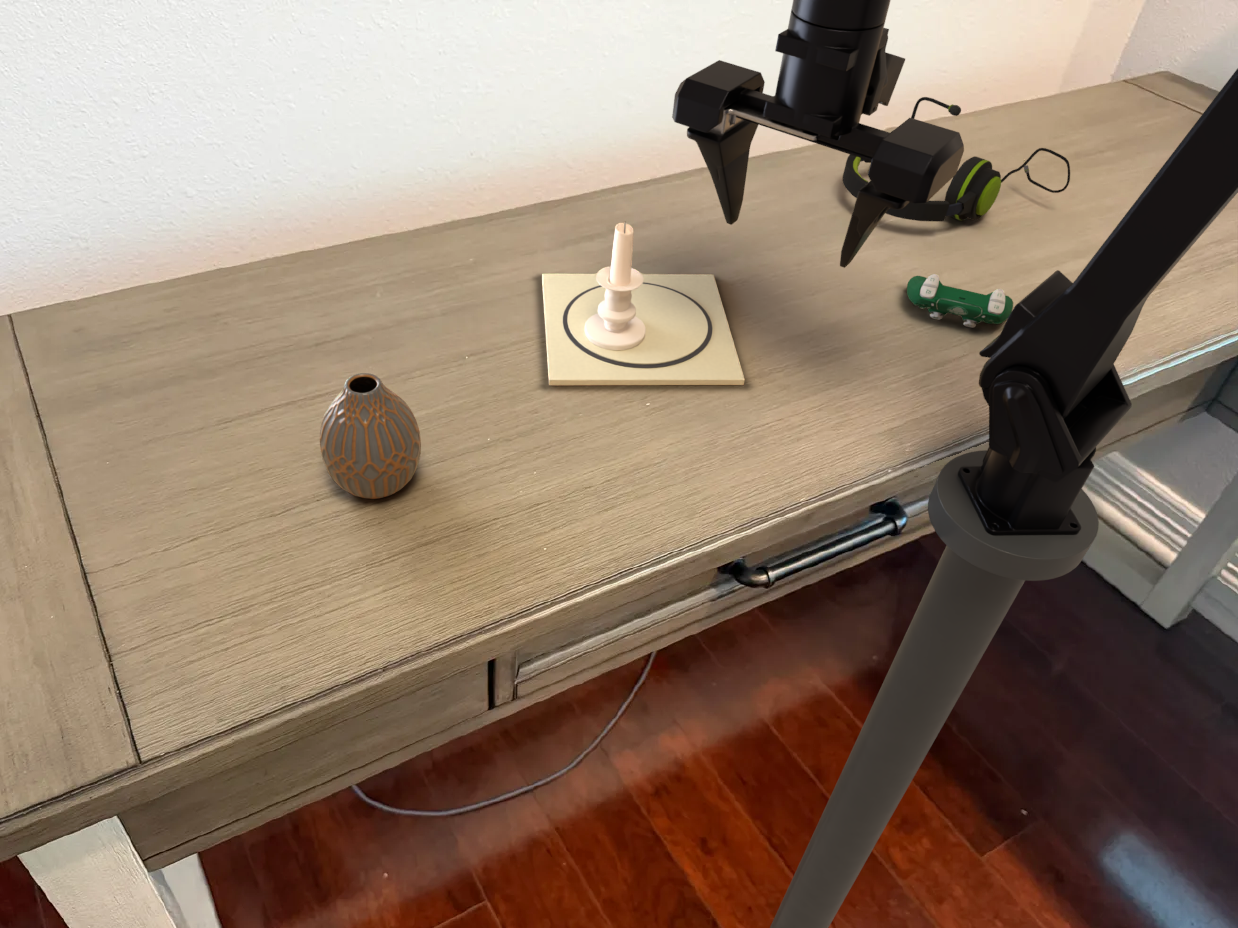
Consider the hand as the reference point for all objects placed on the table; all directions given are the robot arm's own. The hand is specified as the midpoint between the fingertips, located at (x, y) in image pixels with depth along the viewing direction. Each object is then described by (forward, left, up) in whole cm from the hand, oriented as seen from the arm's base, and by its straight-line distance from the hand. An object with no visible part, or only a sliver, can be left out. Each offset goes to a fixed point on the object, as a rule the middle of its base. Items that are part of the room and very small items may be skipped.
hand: (787, 242), depth 71 cm
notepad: (+8, +9, -13) cm, 18 cm away
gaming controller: (+10, -20, -13) cm, 26 cm away
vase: (-11, +30, -13) cm, 35 cm away
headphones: (+31, -25, -13) cm, 42 cm away
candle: (+6, +11, -12) cm, 18 cm away
